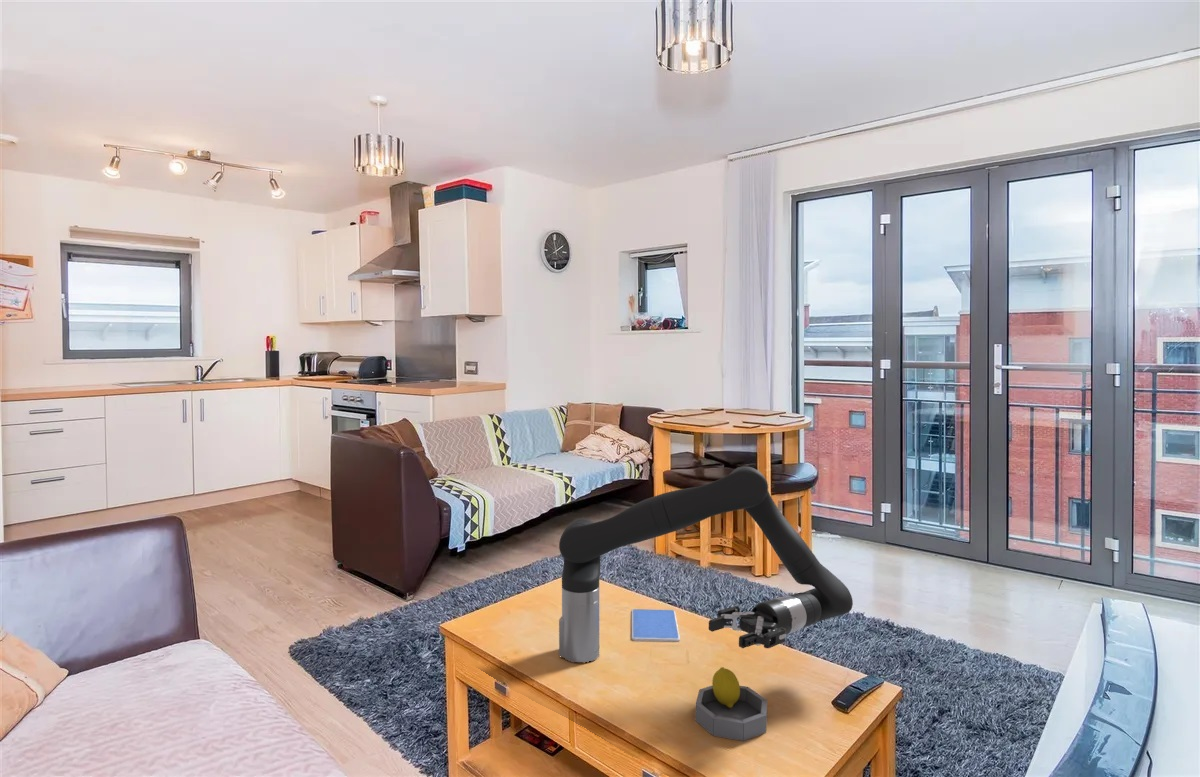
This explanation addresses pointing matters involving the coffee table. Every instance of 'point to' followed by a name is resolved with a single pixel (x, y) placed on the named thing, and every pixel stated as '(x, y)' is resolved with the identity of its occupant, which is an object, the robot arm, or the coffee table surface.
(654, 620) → the tablet computer
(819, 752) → the coffee table surface
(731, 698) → the lemon
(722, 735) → the bowl
